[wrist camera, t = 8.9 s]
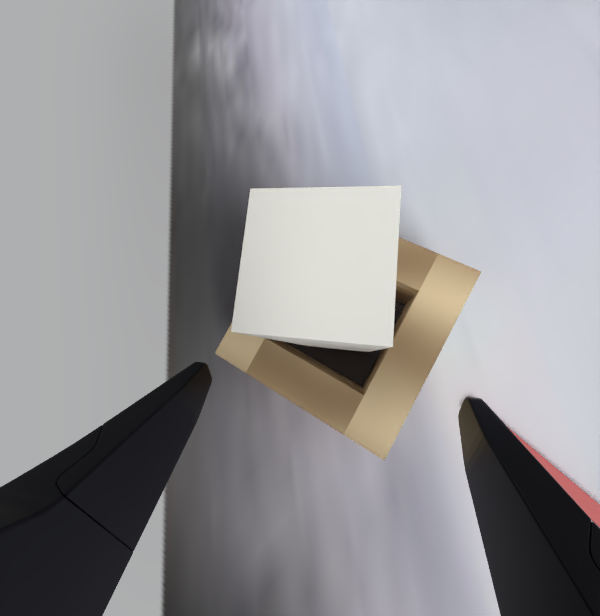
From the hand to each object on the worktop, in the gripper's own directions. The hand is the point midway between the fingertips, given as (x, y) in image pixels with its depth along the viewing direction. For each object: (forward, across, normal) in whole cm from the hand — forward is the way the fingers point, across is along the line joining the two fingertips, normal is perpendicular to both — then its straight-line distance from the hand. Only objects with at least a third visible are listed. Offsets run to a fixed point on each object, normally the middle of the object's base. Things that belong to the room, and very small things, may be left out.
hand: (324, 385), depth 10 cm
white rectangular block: (+8, 0, +4) cm, 9 cm away
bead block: (+8, 0, +4) cm, 9 cm away
